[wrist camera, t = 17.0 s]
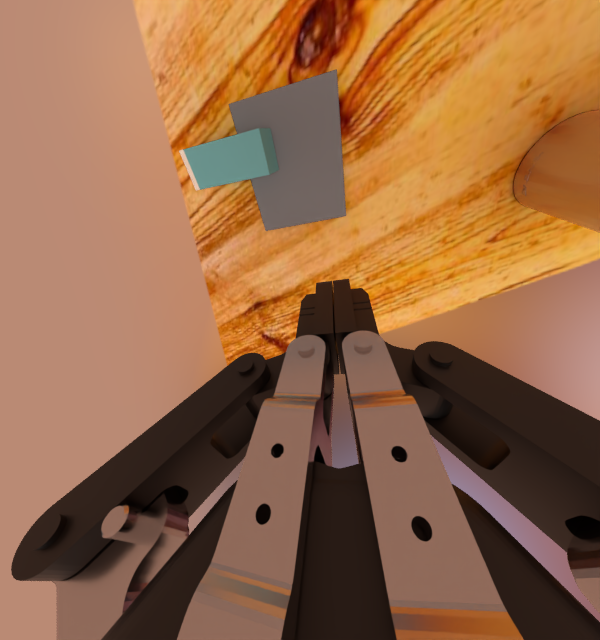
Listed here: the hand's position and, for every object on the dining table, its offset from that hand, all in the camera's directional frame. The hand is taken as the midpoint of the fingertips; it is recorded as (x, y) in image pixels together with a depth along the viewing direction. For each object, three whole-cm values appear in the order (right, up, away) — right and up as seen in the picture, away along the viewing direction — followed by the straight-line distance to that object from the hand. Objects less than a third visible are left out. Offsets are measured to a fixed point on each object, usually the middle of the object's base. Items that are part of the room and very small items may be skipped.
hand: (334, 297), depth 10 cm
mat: (-2, +19, +17) cm, 26 cm away
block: (-5, +18, +14) cm, 24 cm away
